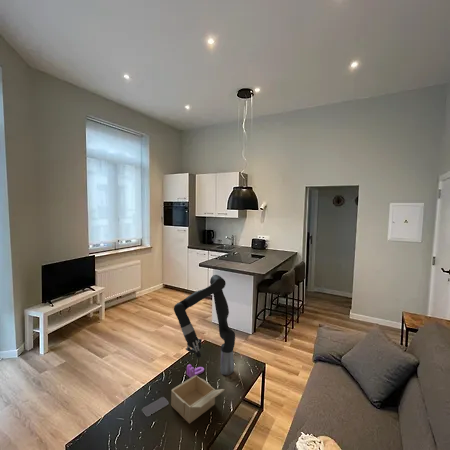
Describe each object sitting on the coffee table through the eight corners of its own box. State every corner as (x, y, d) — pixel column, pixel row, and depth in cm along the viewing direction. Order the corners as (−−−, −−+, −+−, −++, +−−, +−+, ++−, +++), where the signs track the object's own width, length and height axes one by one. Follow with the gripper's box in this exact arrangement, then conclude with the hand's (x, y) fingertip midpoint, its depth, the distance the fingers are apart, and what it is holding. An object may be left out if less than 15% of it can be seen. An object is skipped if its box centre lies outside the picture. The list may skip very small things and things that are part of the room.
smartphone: (141, 409, 152) (163, 396, 163) (141, 410, 152) (163, 397, 163) (146, 416, 147) (169, 403, 157) (146, 418, 147) (169, 404, 157)
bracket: (190, 378, 181) (190, 369, 181) (186, 374, 186) (186, 365, 185) (205, 371, 189) (205, 362, 189) (201, 367, 194) (201, 358, 193)
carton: (196, 388, 171) (196, 374, 170) (215, 403, 158) (215, 388, 158) (169, 405, 156) (169, 390, 155) (188, 424, 143) (188, 407, 142)
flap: (224, 389, 151) (224, 390, 151) (215, 389, 156) (215, 390, 156) (200, 406, 137) (200, 408, 137) (191, 406, 143) (191, 408, 142)
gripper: (184, 336, 160) (195, 362, 157) (199, 326, 170) (209, 351, 167) (178, 337, 165) (188, 363, 162) (193, 328, 175) (203, 352, 172)
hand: (199, 357), depth 165 cm, fingers closed
